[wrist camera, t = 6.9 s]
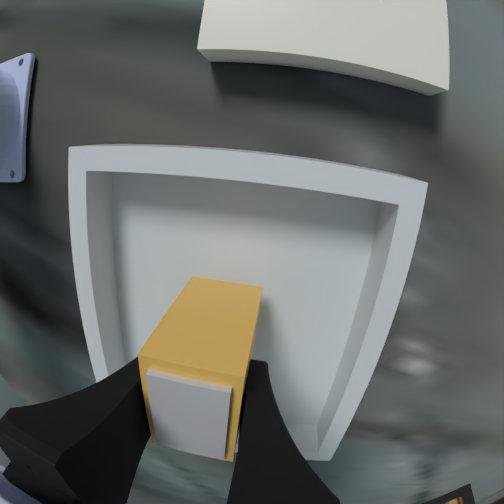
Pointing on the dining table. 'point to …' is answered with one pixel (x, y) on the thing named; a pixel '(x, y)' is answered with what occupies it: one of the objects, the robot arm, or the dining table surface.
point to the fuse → (200, 367)
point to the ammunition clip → (455, 497)
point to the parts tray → (248, 262)
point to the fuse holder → (335, 38)
